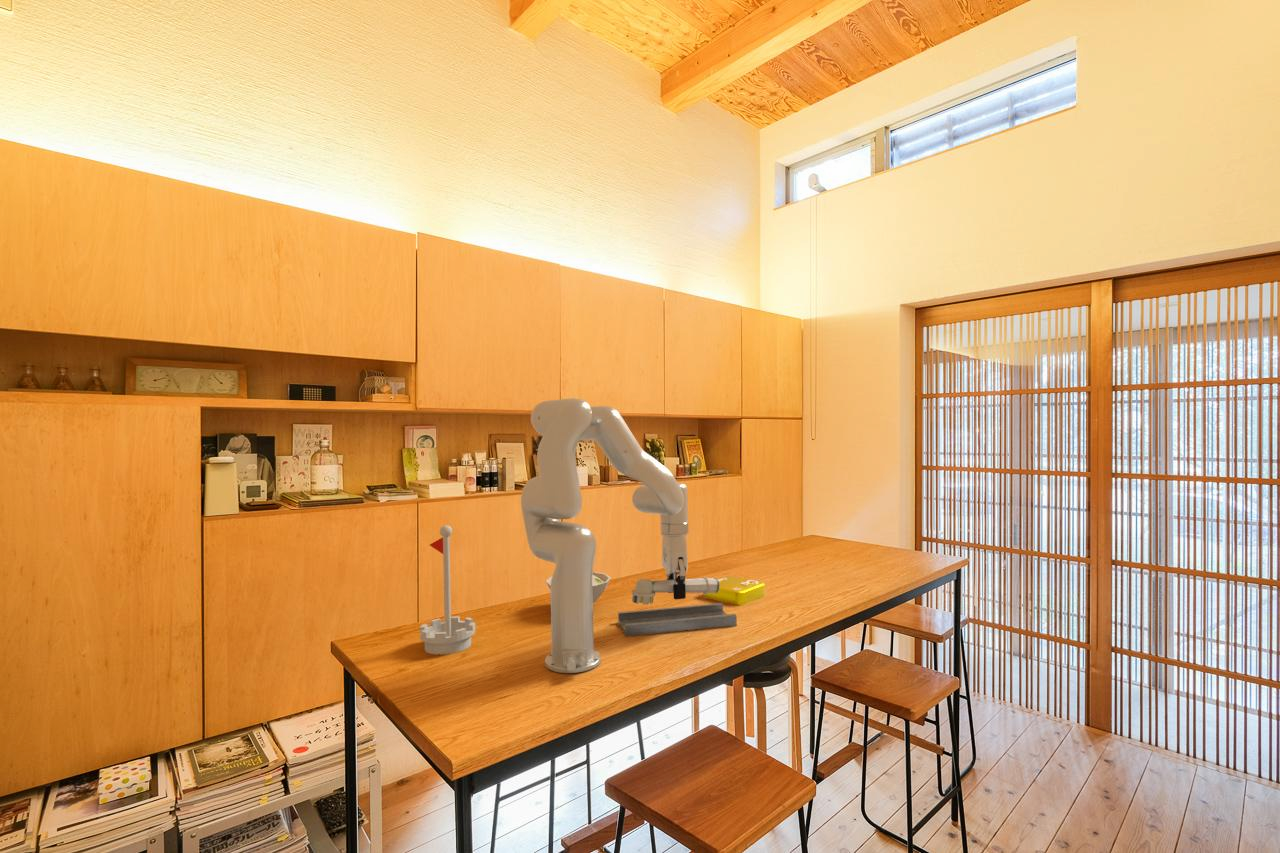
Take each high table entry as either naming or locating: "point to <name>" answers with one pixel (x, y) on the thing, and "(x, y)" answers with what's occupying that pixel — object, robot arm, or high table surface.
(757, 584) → the element tile
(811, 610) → the high table surface
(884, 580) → the high table surface
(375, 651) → the high table surface
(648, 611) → the pipe channel
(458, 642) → the flag stand
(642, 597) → the grey elongated piece
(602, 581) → the bowl
